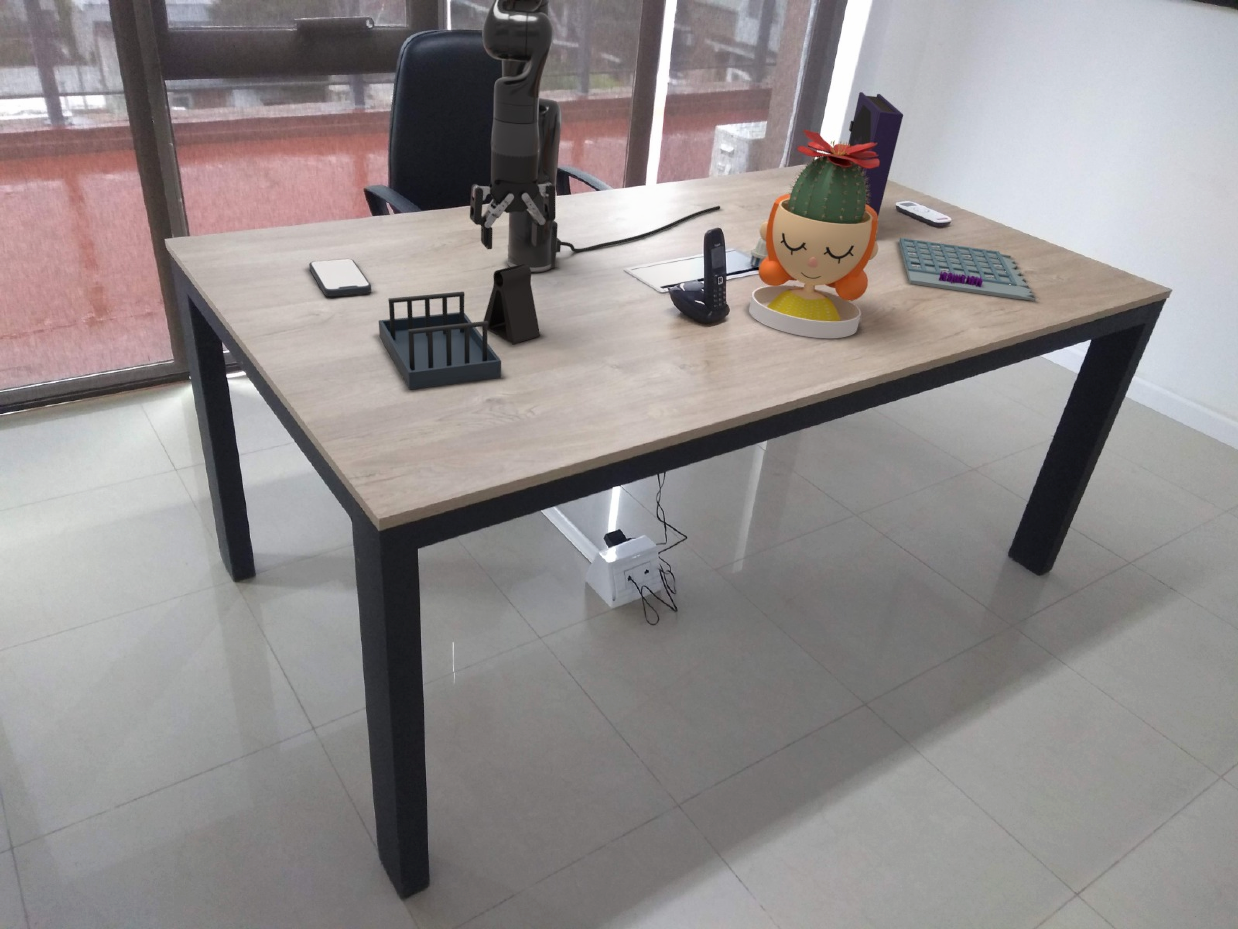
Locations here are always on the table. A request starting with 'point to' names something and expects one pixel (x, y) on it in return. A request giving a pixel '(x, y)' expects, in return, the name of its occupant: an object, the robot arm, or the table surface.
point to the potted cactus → (819, 244)
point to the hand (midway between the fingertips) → (512, 246)
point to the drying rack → (438, 345)
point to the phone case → (339, 277)
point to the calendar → (963, 269)
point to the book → (876, 141)
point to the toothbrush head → (759, 253)
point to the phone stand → (512, 305)
